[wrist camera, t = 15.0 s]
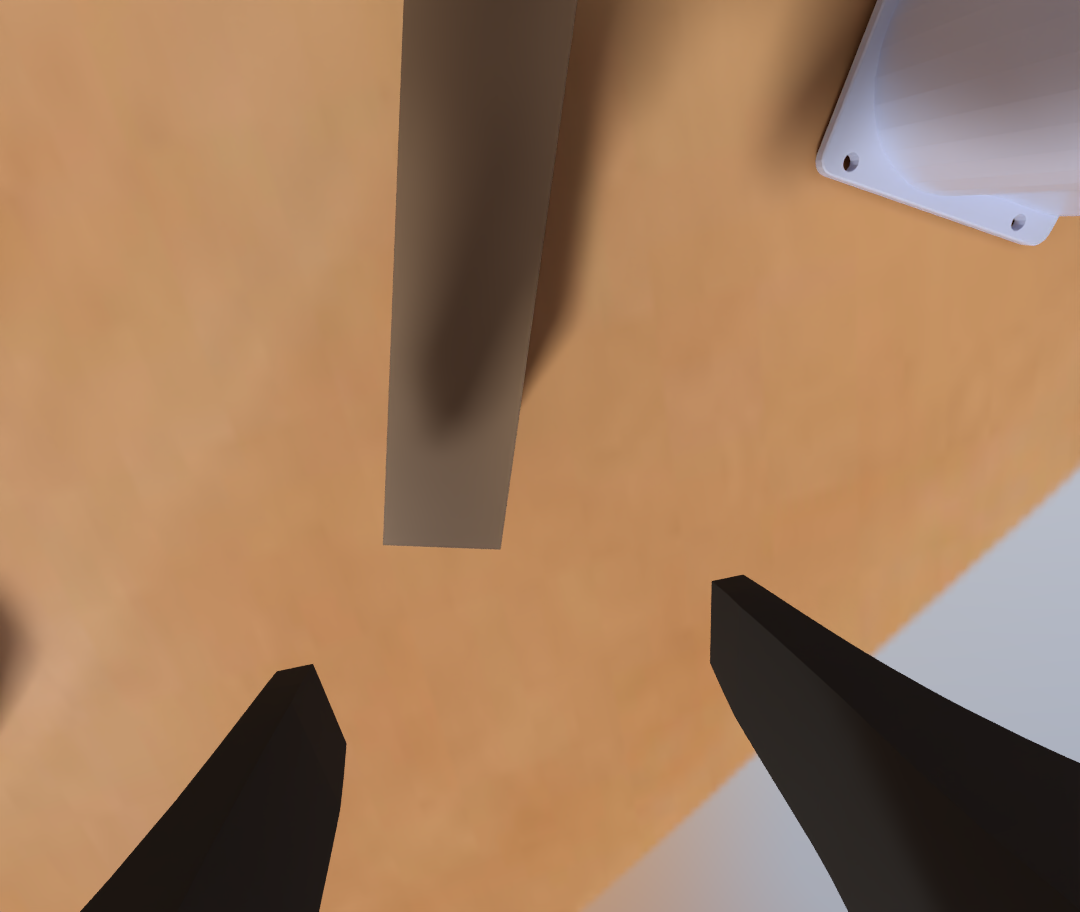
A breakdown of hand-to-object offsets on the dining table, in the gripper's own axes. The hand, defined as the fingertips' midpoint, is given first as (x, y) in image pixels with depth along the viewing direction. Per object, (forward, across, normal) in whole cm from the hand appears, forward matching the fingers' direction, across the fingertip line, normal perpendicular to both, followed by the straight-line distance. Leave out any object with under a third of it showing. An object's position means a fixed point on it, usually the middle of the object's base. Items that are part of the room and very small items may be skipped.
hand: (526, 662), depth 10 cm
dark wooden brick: (+11, 0, -6) cm, 12 cm away
